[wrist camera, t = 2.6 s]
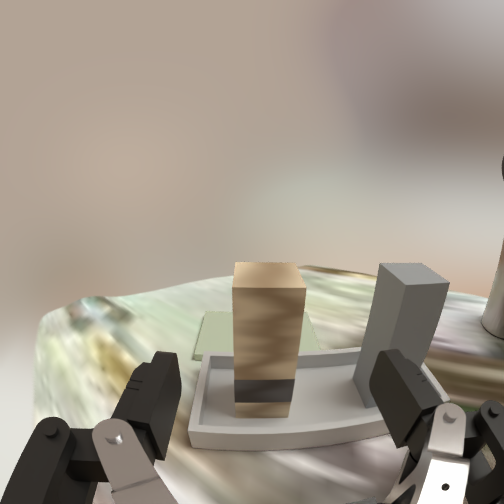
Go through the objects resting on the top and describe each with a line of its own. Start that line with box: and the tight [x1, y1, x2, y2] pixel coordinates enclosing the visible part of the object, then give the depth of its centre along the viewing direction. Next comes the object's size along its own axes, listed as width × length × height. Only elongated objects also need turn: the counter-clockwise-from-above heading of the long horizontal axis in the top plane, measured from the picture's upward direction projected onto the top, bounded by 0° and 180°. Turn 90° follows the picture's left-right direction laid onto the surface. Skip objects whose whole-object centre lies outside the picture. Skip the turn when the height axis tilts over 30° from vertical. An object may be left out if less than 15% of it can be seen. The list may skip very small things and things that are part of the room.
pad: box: [194, 311, 321, 360], centre depth 38 cm, size 16×11×1 cm
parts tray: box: [188, 347, 451, 451], centre depth 25 cm, size 26×12×3 cm, turn 91°
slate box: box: [352, 263, 450, 409], centre depth 23 cm, size 5×5×14 cm
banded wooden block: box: [232, 262, 306, 418], centre depth 23 cm, size 5×5×14 cm
